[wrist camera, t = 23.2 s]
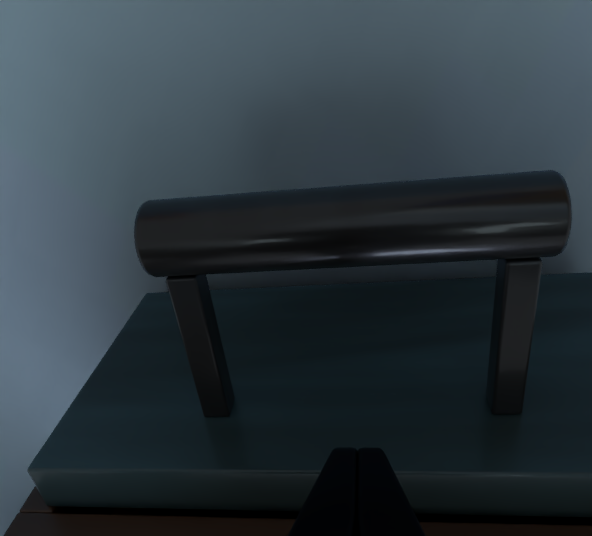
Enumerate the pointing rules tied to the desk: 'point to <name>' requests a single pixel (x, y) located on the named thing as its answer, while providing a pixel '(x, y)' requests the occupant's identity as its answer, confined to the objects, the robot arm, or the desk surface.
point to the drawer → (344, 358)
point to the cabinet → (221, 524)
